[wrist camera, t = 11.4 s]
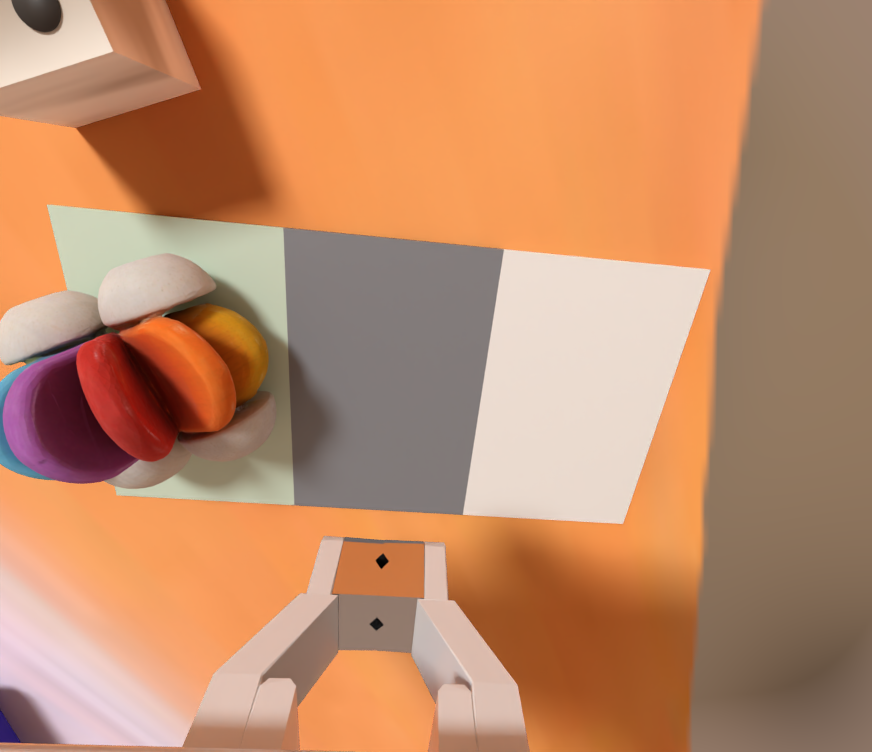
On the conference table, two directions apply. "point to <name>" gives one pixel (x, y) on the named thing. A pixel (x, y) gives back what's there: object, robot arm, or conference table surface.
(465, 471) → the game mat
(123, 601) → the conference table surface
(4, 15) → the die
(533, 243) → the conference table surface
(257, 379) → the rainbow segmented toy
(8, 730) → the stapler
